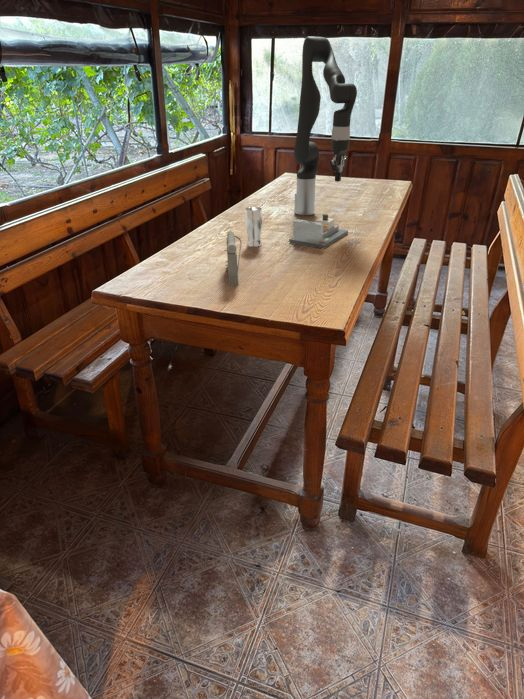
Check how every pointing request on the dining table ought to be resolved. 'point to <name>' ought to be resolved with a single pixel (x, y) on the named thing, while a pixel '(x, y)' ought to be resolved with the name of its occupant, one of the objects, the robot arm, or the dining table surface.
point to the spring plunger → (326, 222)
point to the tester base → (325, 238)
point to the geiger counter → (232, 258)
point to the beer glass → (253, 225)
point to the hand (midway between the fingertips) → (337, 181)
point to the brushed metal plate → (308, 231)
